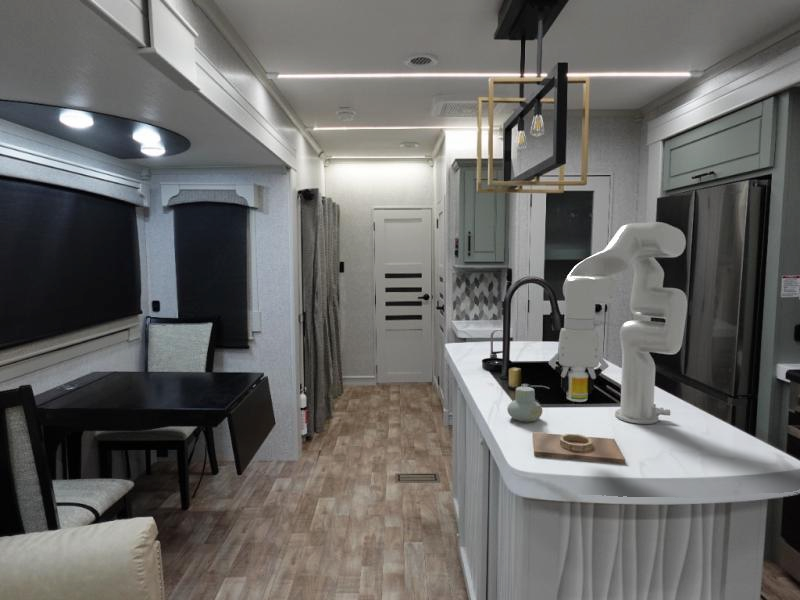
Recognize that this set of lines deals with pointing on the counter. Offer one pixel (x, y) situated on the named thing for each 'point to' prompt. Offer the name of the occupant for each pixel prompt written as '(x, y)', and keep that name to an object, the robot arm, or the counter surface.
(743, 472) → the counter surface
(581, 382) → the supplement bottle
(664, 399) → the counter surface
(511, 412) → the air freshener
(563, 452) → the wooden board
